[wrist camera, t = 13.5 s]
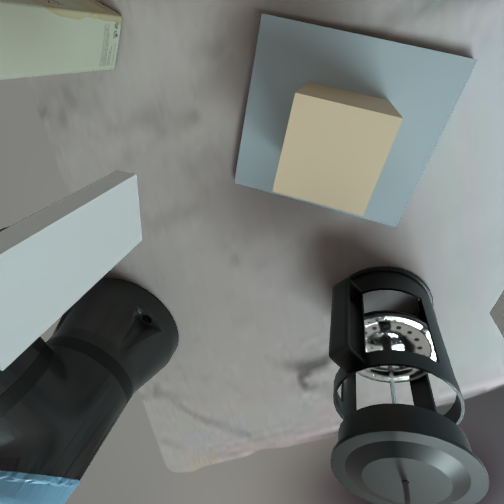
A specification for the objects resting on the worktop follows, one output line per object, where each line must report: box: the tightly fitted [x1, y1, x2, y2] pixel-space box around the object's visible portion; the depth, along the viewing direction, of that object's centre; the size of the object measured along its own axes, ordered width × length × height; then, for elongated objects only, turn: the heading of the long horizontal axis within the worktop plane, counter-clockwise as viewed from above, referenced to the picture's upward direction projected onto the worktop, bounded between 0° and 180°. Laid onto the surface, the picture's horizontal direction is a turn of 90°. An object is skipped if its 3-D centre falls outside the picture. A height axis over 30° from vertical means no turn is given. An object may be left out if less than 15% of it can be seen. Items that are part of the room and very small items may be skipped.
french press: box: [329, 267, 489, 504], centre depth 25 cm, size 12×9×23 cm
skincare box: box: [0, 0, 122, 80], centre depth 23 cm, size 6×4×12 cm
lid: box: [234, 13, 477, 227], centre depth 24 cm, size 15×13×9 cm
